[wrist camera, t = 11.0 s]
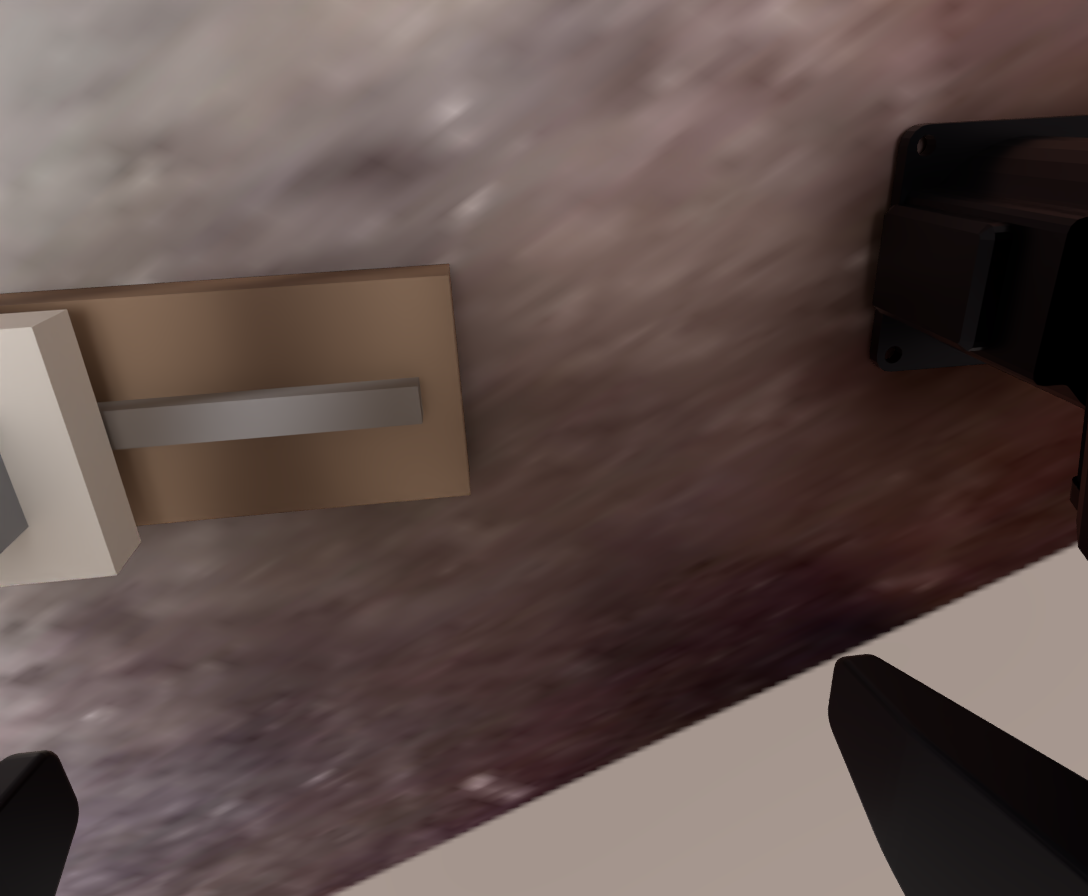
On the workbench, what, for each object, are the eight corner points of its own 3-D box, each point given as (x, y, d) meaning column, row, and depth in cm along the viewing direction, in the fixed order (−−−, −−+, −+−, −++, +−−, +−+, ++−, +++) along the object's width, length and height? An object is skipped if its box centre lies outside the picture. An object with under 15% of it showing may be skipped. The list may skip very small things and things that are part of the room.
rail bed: (449, 263, 19) (448, 281, 17) (469, 470, 22) (471, 507, 20) (-444, 323, 17) (-561, 350, 15) (-311, 541, 20) (-395, 588, 18)
